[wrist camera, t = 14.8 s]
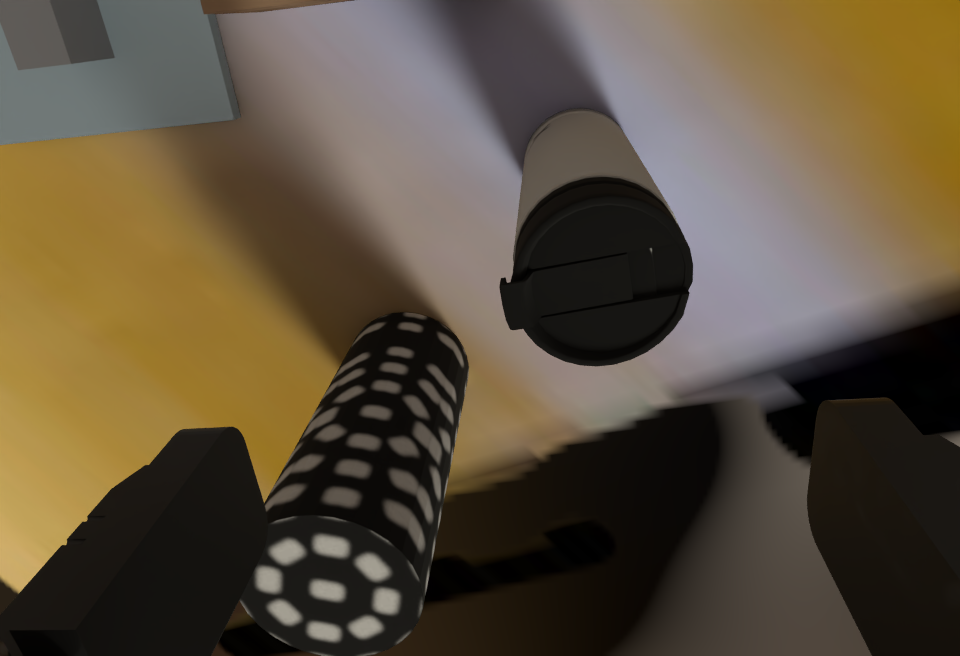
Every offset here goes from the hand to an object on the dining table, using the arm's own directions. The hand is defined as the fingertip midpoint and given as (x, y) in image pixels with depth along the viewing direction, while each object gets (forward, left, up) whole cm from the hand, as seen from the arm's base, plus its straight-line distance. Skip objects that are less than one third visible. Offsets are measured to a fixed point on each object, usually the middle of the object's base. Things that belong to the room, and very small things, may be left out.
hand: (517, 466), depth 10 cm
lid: (+25, -9, -34) cm, 43 cm away
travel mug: (-2, +3, -33) cm, 33 cm away
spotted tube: (+10, +16, -33) cm, 38 cm away
